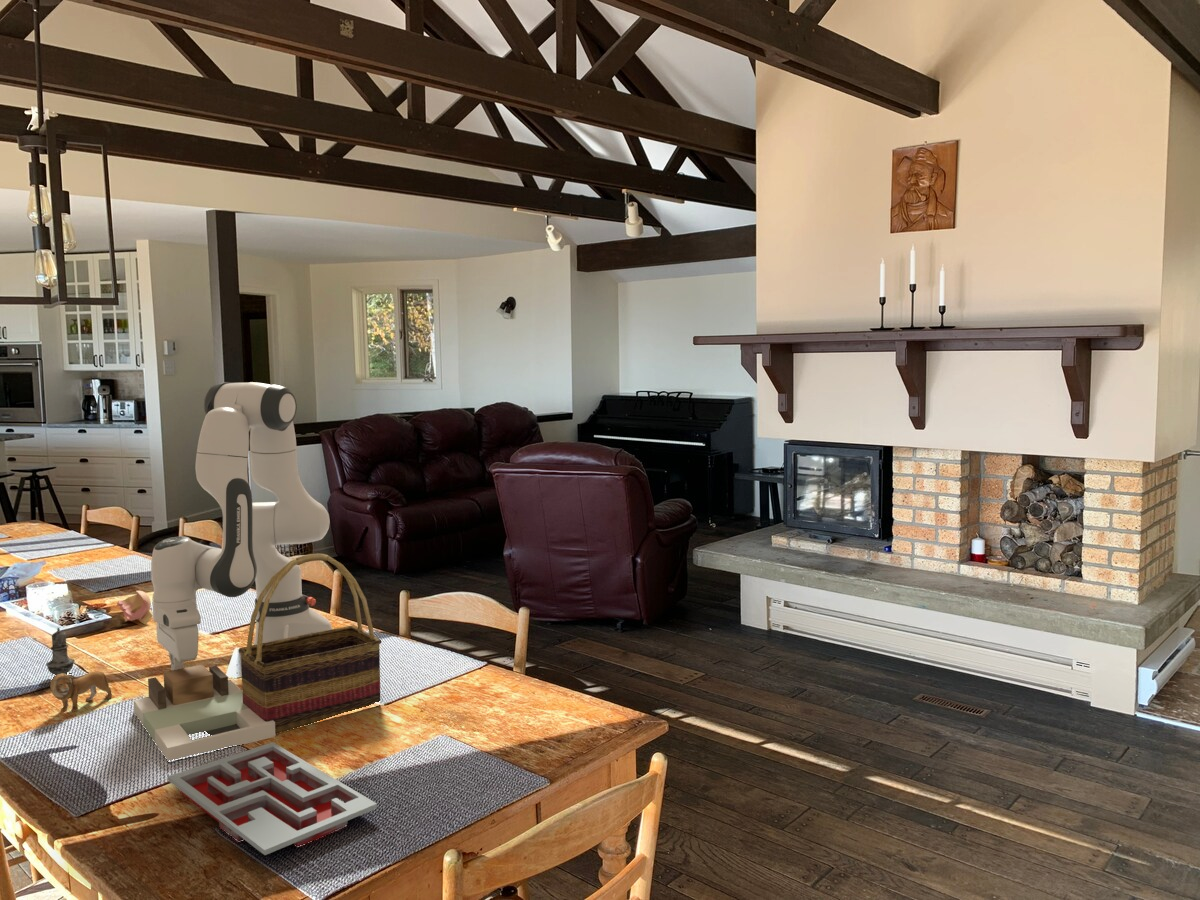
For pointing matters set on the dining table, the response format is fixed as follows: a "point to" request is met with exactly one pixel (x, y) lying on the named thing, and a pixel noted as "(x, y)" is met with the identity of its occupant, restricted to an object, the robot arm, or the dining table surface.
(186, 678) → the tan square block
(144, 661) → the dining table surface
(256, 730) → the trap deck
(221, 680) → the dark brown bars
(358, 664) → the basket
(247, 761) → the maze game
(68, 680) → the lion figurine
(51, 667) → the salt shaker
